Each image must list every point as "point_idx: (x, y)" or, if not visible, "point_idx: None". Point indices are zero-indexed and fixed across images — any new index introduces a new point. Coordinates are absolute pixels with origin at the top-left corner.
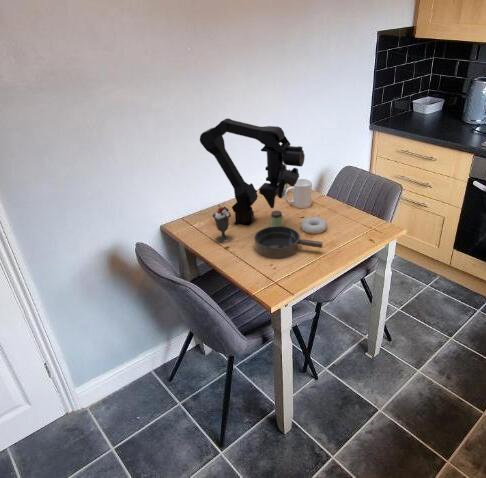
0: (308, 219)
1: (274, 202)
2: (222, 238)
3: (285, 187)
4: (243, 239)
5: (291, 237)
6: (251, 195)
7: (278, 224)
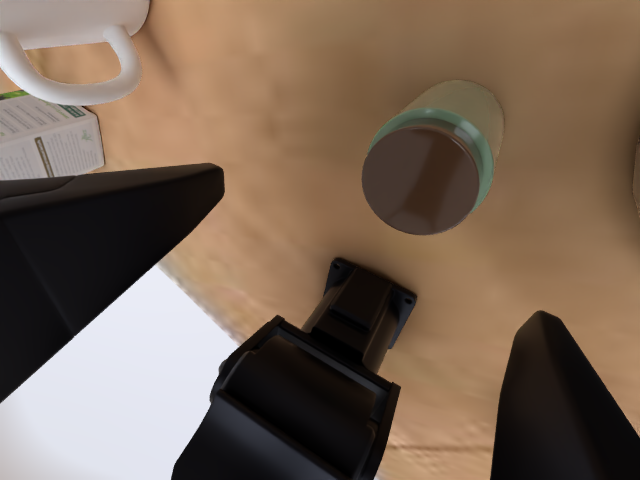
0: None
1: (571, 394)
2: None
3: (31, 99)
4: (591, 350)
5: None
6: (310, 470)
7: (498, 132)
